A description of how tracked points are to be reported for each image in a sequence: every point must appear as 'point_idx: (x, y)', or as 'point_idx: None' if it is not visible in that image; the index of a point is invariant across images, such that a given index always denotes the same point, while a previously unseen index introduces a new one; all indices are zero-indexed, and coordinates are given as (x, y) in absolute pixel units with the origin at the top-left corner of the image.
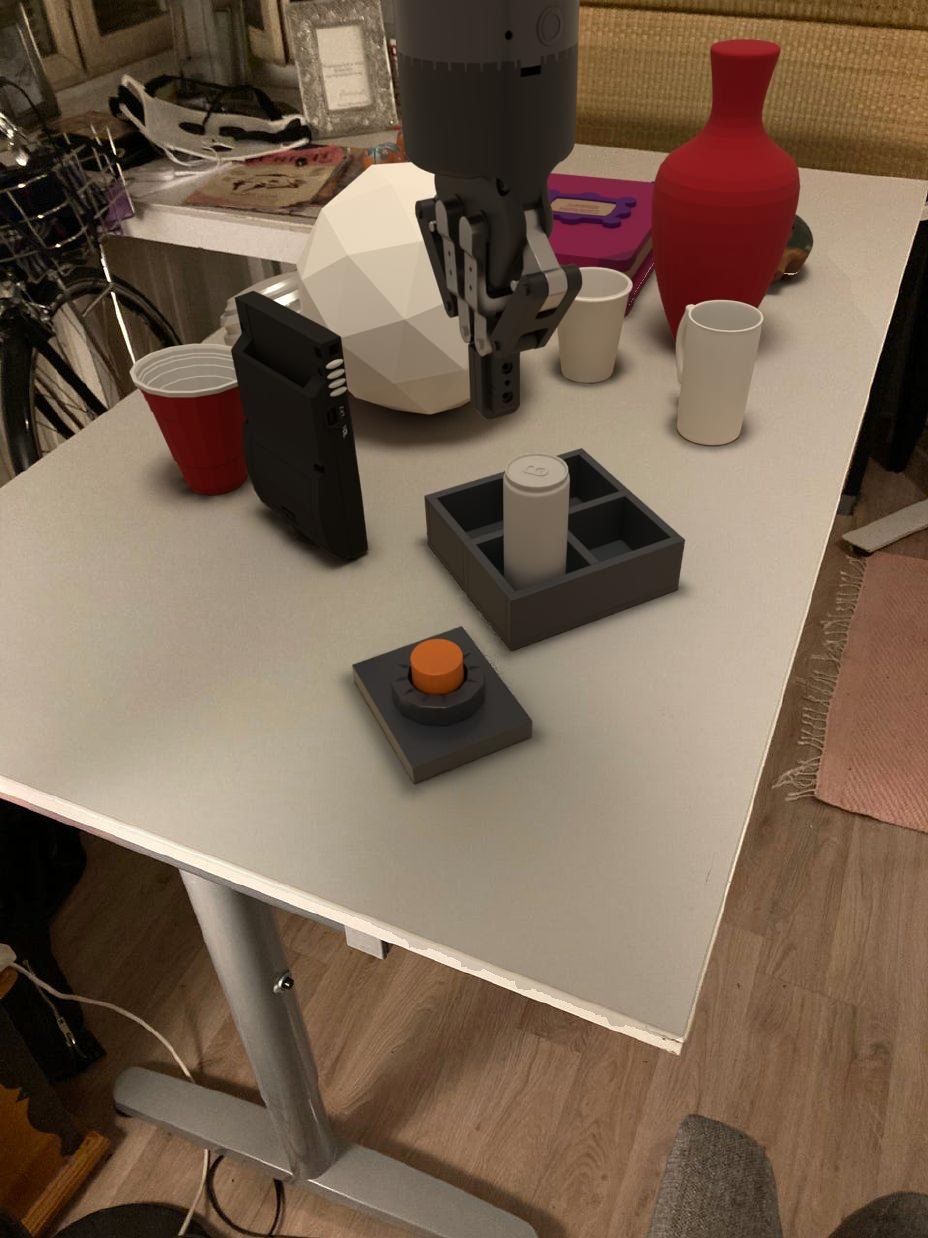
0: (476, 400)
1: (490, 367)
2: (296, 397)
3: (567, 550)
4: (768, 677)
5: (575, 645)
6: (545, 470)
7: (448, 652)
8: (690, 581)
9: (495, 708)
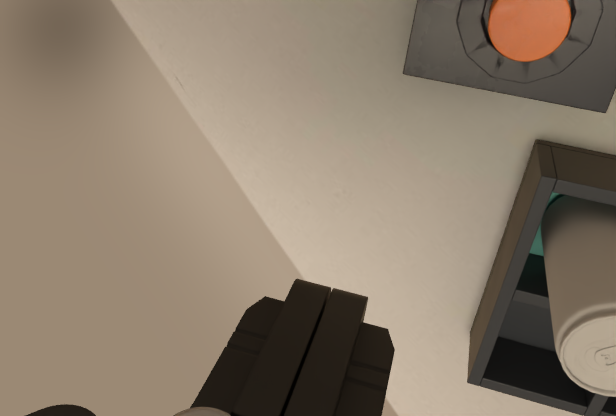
0: (320, 305)
1: (229, 393)
2: None
3: None
4: None
5: (485, 200)
6: (602, 363)
7: (522, 42)
8: None
9: (447, 51)
